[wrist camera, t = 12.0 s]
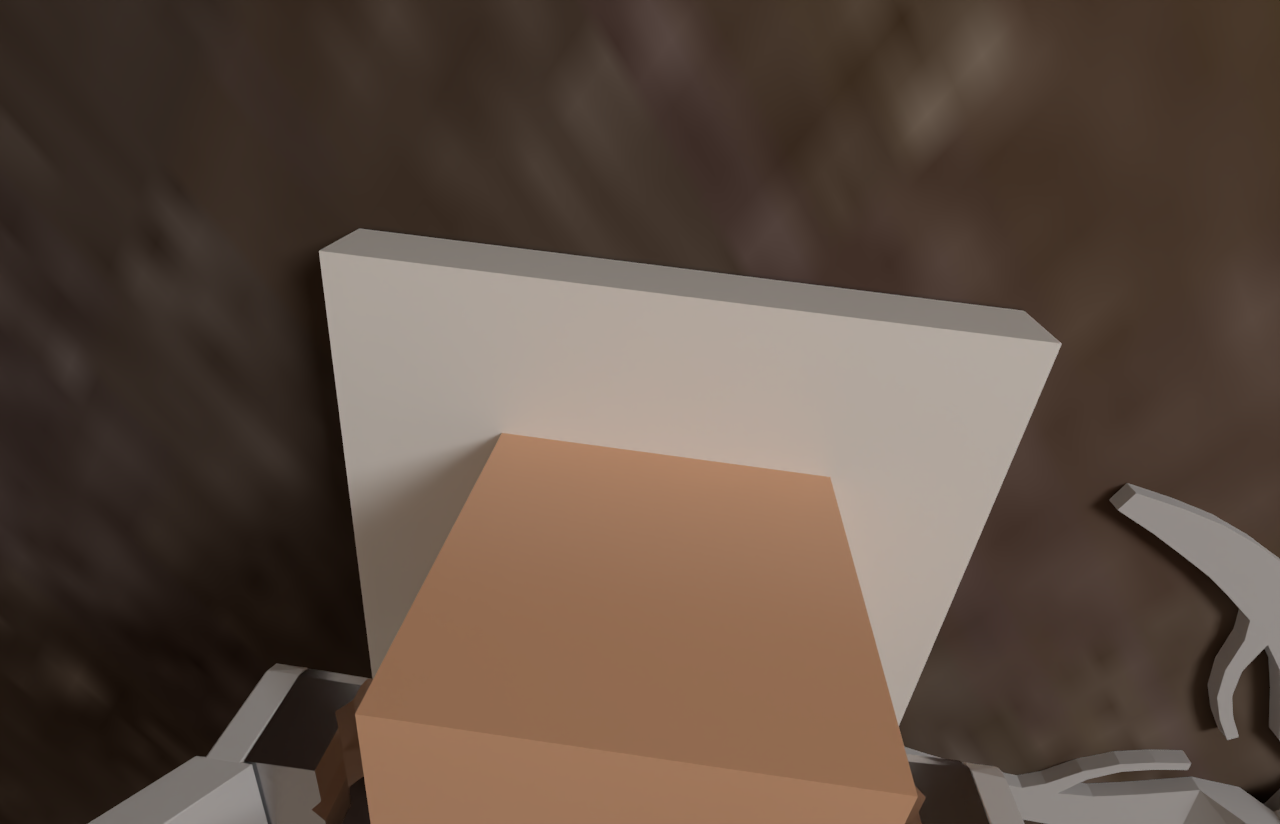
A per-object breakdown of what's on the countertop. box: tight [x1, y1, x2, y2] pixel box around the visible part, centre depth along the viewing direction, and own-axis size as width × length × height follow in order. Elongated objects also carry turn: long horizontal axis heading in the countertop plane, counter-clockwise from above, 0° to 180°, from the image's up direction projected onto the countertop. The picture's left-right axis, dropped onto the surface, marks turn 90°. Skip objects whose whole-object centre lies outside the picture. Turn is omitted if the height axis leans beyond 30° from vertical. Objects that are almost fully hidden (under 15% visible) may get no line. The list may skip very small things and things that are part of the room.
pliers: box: [904, 483, 1280, 824], centre depth 17 cm, size 10×2×15 cm
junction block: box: [319, 229, 1062, 726], centre depth 13 cm, size 12×12×6 cm
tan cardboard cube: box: [355, 433, 918, 824], centre depth 11 cm, size 6×6×6 cm
